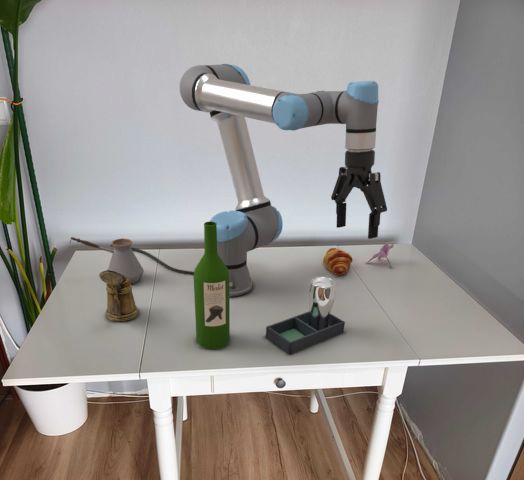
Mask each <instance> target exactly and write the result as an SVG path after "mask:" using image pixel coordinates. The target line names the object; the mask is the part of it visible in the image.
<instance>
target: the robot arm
mask: <svg viewBox="0 0 524 480" xmlns="http://www.w3.org/2000/svg"><path fill="white" fill-rule="evenodd" d="M250 81H251V80H250V79H249V77H248V74H247V73H246V72H245V71H244V70H243V68H241V67H240V66H239V65H235V64H229V63H222V64H221V63H220V64H204V65H203V64H200V65H199V64H198V65H194V66H191V67H189V68H188V69H187V70H186V71H185V72H184V73H183V74H182V76H181V78H180V82H179V94H180V97H181V100H182V102H183V103H184V104H185V105H186V106H187V107H188V108H190V109H191V110H194V111H198V112H203V113H209V116H210V120H212V121H213V122H215V123H216V124H217V126H218V131H219V134H220V138H221V142H222V145H223V150H224V154H225V157H226V161H227V165H228V170H229V174H230V177H231V180H232V184H233V189H234V192H235V197H236V199H237V205H236V206H235V208H234V210H229V211H227V210H226V211H221V212H219V213H216V214H215V215H213V216H212V217H211V219H210V220H209V222H215V223H217V252H218V255H219V256H220V258H221V259H222V261H223V262H224V264H225V265H226V267H227V268H228V271H229V298H236V297H241V296H244V295H246V294H248V293H249V292H250V291H252V288H253V280H252V277H251V275H250V271H249V268H248V252H250V251H254V250H255V249H258V248H260V247H264V246H268V245H270V244H271V243H273V242H275V241H277V239H278V238H279V237H280V235H281V233H282V232H283V225H284V224H283V218H282V215H281V212H280V211H279V210H278V209H277V207H275V206H274V205H272V202H271V199H270V198H268V197H266V196H265V194H264V191H263V186H262V185H263V184H262V182H261V177H260V173H259V168H258V165H257V160H256V156H255V153H254V149H253V145H252V140H251V137H250V134H249V133H250V132H249V128H248V124H247V119H246V118H248V119H252V120H257V121H260V122H265V123H270V124H275V125H276V126H277V127H278V128H279V129H281V131H298V130H301V129H306V128H311V127H316V126H324V125H345V140H344V143H345V144H344V149H346V151H345V152H344V166H340V167H339V168H338V176H337V179H336V182H335V185H334V187H333V190H332V194H331V196H330V198H331V199H330V200H331V201H334V203H335V204H336V205H335V214H336V226H335V227H336V228H337V229H339V228H340V229H341V228H344V227H346V225H347V223H346V222H347V203H346V202H347V199H348V196H349V195H350V194H351V192H352V191H353V189H354V188H356V189H359V190H360V192H362V193H363V195H364V198H365V200H366V202H367V205H368V207H369V209H370V213H369V214H368V227H367V228H368V229H367V239H368V240H372V239H375V238H378V237H379V226H380V224H381V214H382V213H385V212H387V211H388V207H387V202H386V198H385V194H384V190H383V185H382V182H381V181H382V179H381V177H382V175H381V171H377V172H372V167H373V166H374V165H375V159H376V151H375V150H374V149H375V148H376V138H377V118H378V109H379V107H378V106H379V101H380V99H379V83H378V82H377V81H376V80H365V81H364V80H363V81H362V80H361V81H360V80H359V81H350V82H348V83H347V87H346V90H317V91H312V92H308V93H294V92H289V91H284V90H278V89H273V88H269V87H268V88H266V87H262V86H256V85H252V84H251V82H250ZM110 247H113V246H112V245H111V244H110ZM131 249H132V251H135V252H138V253H141V254H143V255H146V256H148V257H149V258H151V259H153V260H154V261H156V262H157V263H159V265H162V266H163V267H165V268H167V269H168V270H171V271H173V272H177V273H181V274H189V275H194V271H192V270H184V269H179V268H175V267H173V266H171V265H168V264H167V263H165V262H163V261H162V260H160V259H159V258H158V257H156V256H154V255H153V254H151V253H149V252H148V251H145V250H142V249H139V248H136V247H132V246H131Z"/></svg>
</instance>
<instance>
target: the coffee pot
mask: <svg viewBox="0 0 524 480" xmlns="http://www.w3.org/2000/svg"><path fill="white" fill-rule="evenodd" d="M72 241H74V242H77V243H81V244H82V245H85V246H88V247H91V248H94V249H99V250H102V251H104V252H108V253H111V254H112V255H111V258H110V261H109V265H108V268H107V270H110V271H115V272H117V273H120V274H121V275H124V276H127V277H128V278H129V281H130V282H131V284H134V283H136V282H138V281H139V279H140V278H141V277H142V276H143V273H144V268H143V266H142V265H141V263H140V261H139V260H138V258H137V256H136V254H135V253H134V250H132V249H131V247H132V245H133V241H132V240H131V239H129V238H123V237H122V238H117V239H114V240H112V241H111V243H110V246H111V245H112V246H111V247H112V248H113V249H111V248H107V247H103V246H101V245H98V244H96V243H94V242H90V241H88V240H83V239H80V238H76V237H73V236H71V237H70V240H69V244H71V243H72Z"/></svg>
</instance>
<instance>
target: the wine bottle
mask: <svg viewBox="0 0 524 480" xmlns="http://www.w3.org/2000/svg"><path fill="white" fill-rule="evenodd" d="M203 228H204V229H203V234H204V235H203V241H204V242H203V243H204V248H203V249H204V253H203V255H202V257H201V259H200V260H199V261H198V263H197V264H196V266H195V268H194V270H193V272H194V274H193V295H194V314H195V315H194V318H195V336H196V337H195V338H196V343H197V345H199V346H200V347H201V348H203V349H205V350H219V349H222V348H225V347H226V346H227V345H228V344H229V343H230V339H231V337H230V336H231V335H230V333H231V332H230V329H231V328H230V325H231V324H230V323H231V322H230V315H231V314H230V297H229V271H228V268H227V267H226V265H225V264H224V262H223V261H222V259H221V258H220V256H219V255H218V252H217V223H215V222H210V221H205V222H204V223H203Z"/></svg>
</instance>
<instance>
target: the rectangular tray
mask: <svg viewBox="0 0 524 480" xmlns="http://www.w3.org/2000/svg"><path fill="white" fill-rule="evenodd" d="M309 319H310V312H309V311H306V312H303V313H301V314H298V315H295V316H292V317H289V318H286V319H284V320H281V321H278V322H276V323H272V324H269V325H267V326H265V328H266V329H265V338H266V339H267V340H269V341H270V342H271V343H272V344H273V345H275V346H277V347H278V348H280V349H281V350H283V351H284V352H285V353H287V354H288V355H291V354H295V353H297V352H299V351H302V350H304V349H306V348H310V347H311V346H314V345H317V344H319V343H321V342H325V341H326V340H328V339H332V338H334V337H336V336H339V335H341V334H344V331H345V324H346V321H344V320H342V319H341V318H339V317H337V316H335V315H334V314H332V312H331V313H330V316H329V320H328V326H329V327H327V328H324V329H322V330H319V331H317V330H316V329H314V328H312V327H311V326H309V325H308V324H309Z"/></svg>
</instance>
